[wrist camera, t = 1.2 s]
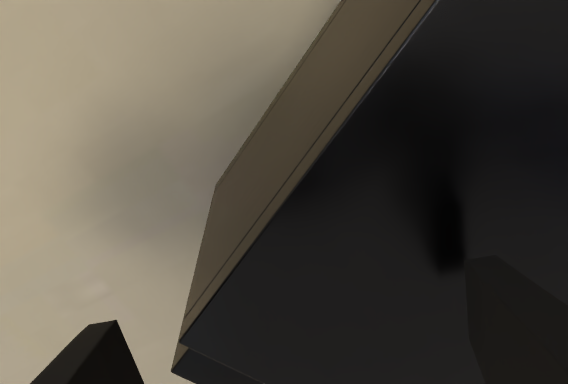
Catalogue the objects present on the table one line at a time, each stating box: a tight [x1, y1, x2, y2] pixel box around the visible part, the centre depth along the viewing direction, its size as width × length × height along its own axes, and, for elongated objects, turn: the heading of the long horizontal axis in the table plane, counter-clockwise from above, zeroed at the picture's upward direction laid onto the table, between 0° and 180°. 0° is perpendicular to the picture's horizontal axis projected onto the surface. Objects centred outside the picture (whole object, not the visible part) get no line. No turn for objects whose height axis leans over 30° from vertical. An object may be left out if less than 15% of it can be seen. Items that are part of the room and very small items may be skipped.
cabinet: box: [178, 0, 568, 384], centre depth 16 cm, size 14×13×9 cm
